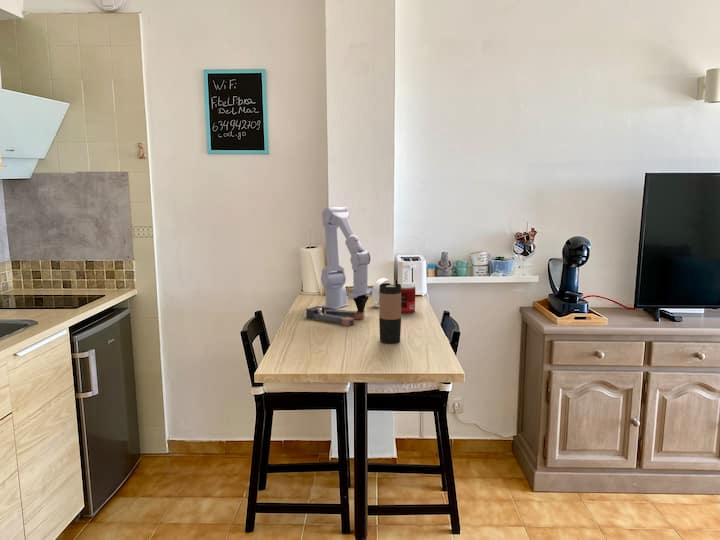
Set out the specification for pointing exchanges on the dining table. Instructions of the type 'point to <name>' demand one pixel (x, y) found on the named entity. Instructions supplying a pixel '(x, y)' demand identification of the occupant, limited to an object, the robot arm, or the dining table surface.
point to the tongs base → (328, 316)
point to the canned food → (407, 298)
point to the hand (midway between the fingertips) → (360, 313)
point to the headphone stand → (376, 290)
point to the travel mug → (390, 313)
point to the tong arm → (347, 313)
